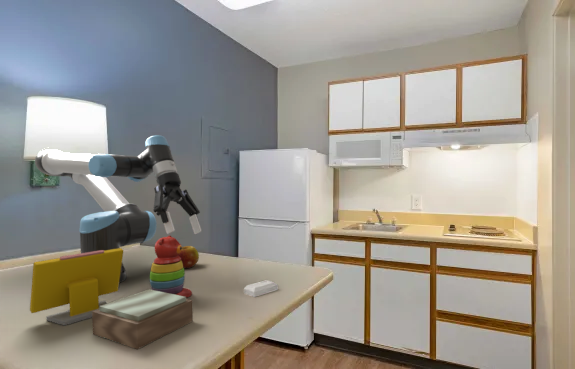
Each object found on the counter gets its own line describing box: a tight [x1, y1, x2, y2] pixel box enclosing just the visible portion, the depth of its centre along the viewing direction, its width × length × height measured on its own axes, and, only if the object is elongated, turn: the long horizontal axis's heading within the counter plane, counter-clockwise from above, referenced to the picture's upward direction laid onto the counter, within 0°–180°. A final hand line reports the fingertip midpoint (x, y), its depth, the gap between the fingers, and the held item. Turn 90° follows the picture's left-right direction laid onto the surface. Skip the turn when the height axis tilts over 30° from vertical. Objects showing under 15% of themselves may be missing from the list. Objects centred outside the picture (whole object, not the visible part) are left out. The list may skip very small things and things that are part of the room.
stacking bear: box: [149, 234, 193, 299], centre depth 96 cm, size 11×10×18 cm
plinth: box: [91, 288, 194, 350], centre depth 77 cm, size 15×15×6 cm
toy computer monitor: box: [29, 247, 124, 326], centre depth 86 cm, size 20×8×16 cm, turn 141°
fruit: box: [178, 245, 200, 269], centre depth 133 cm, size 10×9×8 cm
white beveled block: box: [243, 279, 279, 298], centre depth 101 cm, size 5×9×3 cm, turn 133°
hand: (185, 232), depth 111 cm, fingers open, 13 cm apart
